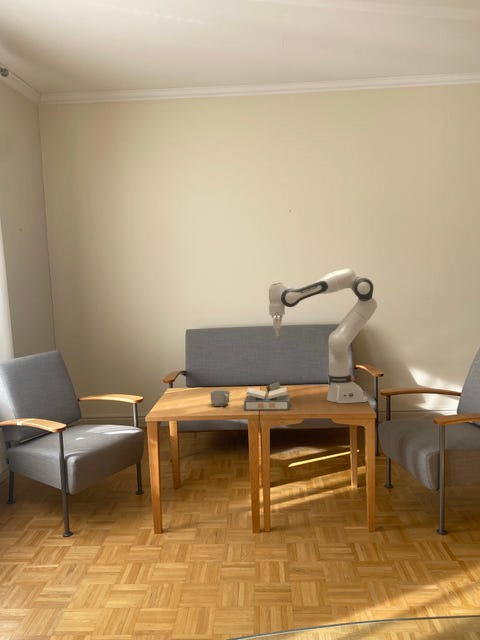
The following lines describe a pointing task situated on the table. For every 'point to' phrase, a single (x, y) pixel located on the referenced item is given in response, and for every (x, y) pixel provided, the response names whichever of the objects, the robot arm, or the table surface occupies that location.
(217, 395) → the teacup
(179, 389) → the table surface
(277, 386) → the electrical switch
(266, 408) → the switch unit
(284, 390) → the rocker
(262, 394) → the block
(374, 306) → the robot arm
